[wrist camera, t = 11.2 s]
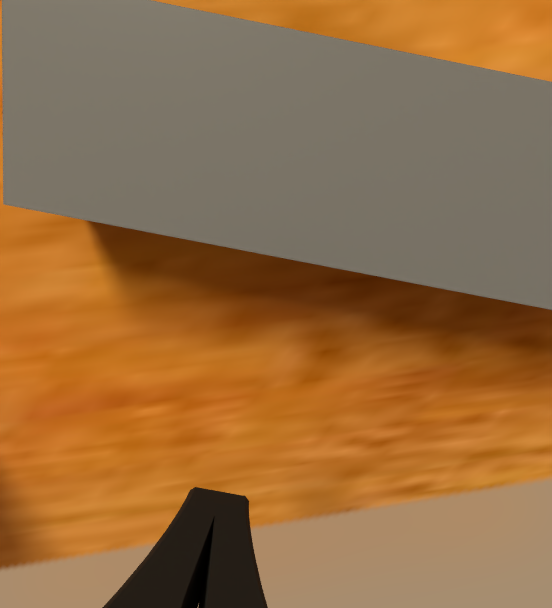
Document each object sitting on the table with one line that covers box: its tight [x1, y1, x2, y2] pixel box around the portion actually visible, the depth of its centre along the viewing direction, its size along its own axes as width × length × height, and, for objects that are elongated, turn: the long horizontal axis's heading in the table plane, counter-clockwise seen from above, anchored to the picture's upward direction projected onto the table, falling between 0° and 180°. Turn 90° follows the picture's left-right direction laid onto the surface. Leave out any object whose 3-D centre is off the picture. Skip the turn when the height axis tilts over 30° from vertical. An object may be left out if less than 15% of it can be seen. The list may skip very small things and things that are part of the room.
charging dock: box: [2, 0, 552, 310], centre depth 15 cm, size 20×6×5 cm, turn 79°
